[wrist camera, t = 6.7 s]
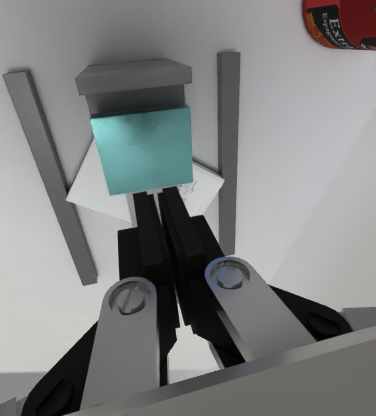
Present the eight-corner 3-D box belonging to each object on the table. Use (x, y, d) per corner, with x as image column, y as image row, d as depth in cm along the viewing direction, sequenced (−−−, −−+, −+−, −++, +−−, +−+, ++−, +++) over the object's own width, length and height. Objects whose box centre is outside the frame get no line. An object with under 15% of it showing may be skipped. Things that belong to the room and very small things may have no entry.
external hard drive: (103, 113, 23) (220, 174, 28) (67, 193, 26) (180, 235, 31) (102, 117, 22) (226, 181, 27) (64, 201, 24) (183, 244, 30)
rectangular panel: (90, 113, 16) (89, 120, 15) (185, 102, 17) (190, 108, 16) (139, 303, 27) (140, 314, 26) (195, 291, 27) (199, 301, 27)
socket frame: (7, 72, 20) (-52, 90, 13) (234, 52, 23) (289, 57, 16) (84, 278, 31) (74, 348, 24) (231, 247, 34) (262, 303, 27)
